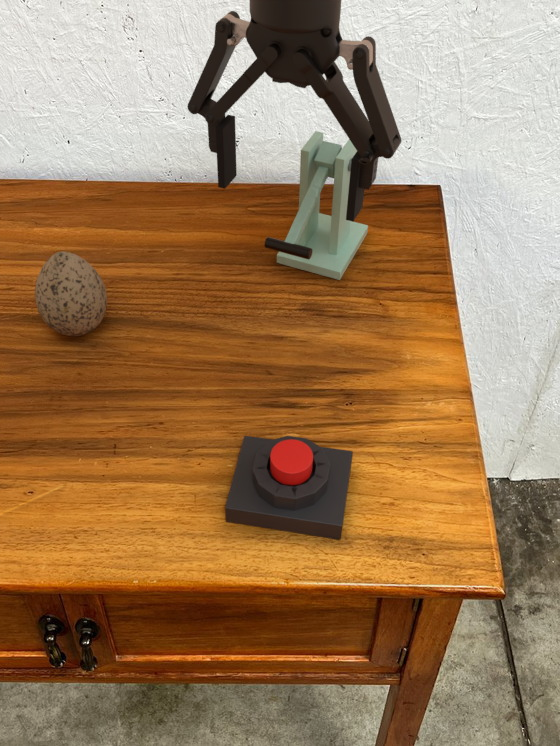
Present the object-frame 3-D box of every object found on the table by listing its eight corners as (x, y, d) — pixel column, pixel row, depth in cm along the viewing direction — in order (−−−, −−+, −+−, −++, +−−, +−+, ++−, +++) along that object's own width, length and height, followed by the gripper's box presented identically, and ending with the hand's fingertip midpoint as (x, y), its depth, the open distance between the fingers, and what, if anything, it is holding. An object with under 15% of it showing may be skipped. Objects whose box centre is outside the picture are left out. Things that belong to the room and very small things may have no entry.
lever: (309, 264, 81) (307, 252, 79) (266, 253, 83) (262, 240, 81) (354, 162, 86) (353, 147, 84) (313, 152, 87) (310, 137, 85)
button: (266, 482, 66) (266, 469, 64) (274, 449, 68) (274, 436, 67) (308, 488, 65) (309, 476, 64) (314, 455, 68) (315, 442, 66)
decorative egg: (58, 360, 80) (38, 286, 73) (35, 320, 84) (13, 246, 77) (123, 335, 83) (109, 261, 76) (97, 298, 87) (81, 224, 80)
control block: (225, 522, 67) (223, 495, 64) (244, 450, 72) (243, 422, 70) (340, 540, 66) (343, 513, 63) (351, 465, 71) (354, 438, 68)
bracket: (339, 280, 90) (348, 176, 80) (276, 262, 92) (277, 159, 82) (367, 233, 96) (379, 131, 86) (307, 217, 98) (312, 116, 88)
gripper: (461, -24, 61) (421, 207, 76) (179, -70, 67) (194, 151, 82) (436, 10, 56) (399, 249, 71) (135, -43, 62) (160, 186, 78)
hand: (289, 197), depth 77 cm, fingers open, 13 cm apart
